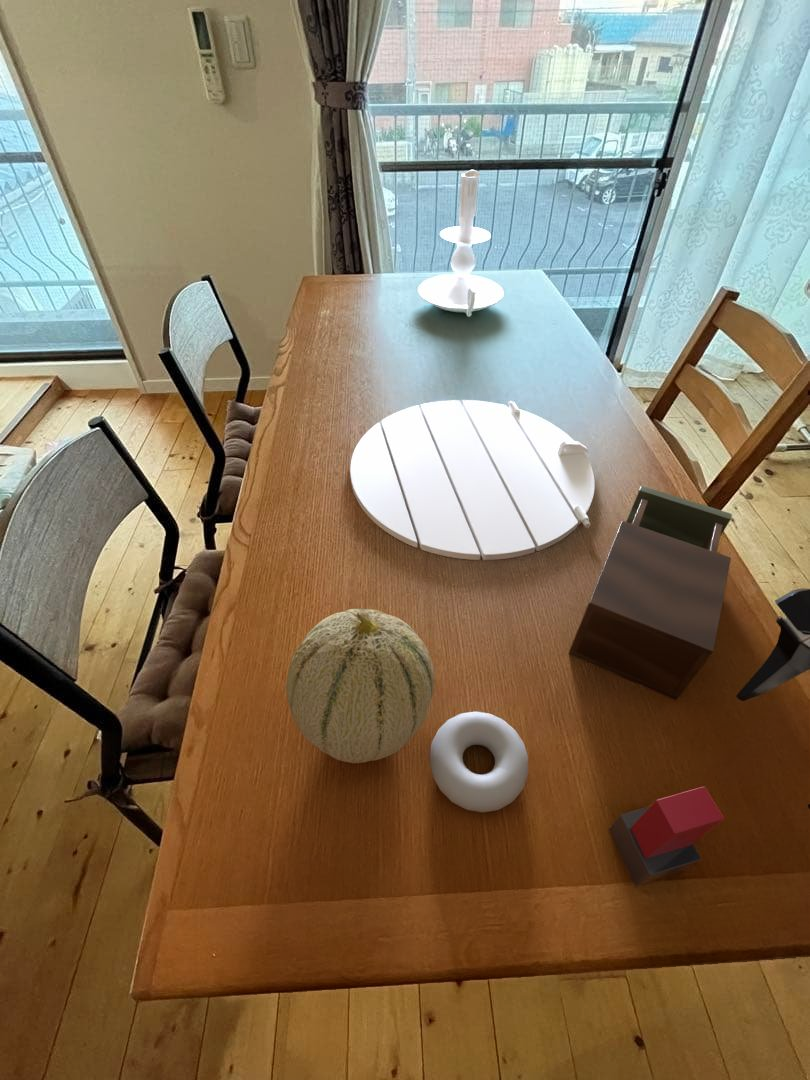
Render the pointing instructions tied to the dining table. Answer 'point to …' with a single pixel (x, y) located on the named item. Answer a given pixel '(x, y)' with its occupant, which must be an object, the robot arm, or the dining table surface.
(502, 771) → the donut
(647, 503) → the drawer
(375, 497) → the lazy susan
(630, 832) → the stand
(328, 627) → the cantaloupe
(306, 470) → the dining table surface
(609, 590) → the cabinet
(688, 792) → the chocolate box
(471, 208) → the candlestick
